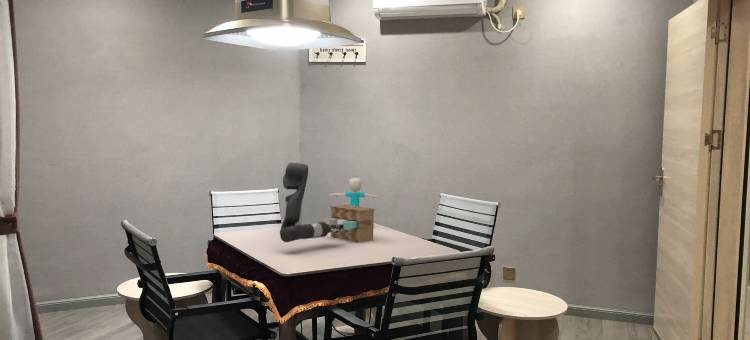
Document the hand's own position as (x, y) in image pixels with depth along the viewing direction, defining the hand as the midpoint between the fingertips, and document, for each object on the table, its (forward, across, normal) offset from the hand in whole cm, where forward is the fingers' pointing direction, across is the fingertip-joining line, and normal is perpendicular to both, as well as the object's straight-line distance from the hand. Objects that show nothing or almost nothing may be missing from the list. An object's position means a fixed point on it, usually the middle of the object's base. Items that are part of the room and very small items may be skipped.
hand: (342, 226), depth 337 cm
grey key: (+6, +14, +2) cm, 16 cm away
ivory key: (+10, +7, +2) cm, 12 cm away
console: (+14, +7, +9) cm, 18 cm away
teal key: (+6, 0, +2) cm, 7 cm away
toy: (+39, +31, +9) cm, 51 cm away
